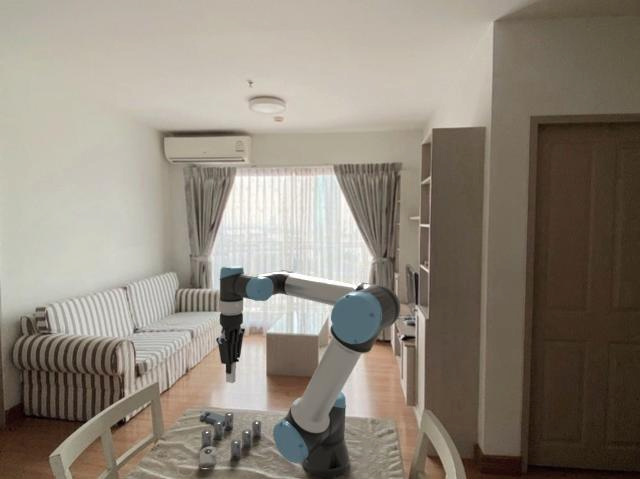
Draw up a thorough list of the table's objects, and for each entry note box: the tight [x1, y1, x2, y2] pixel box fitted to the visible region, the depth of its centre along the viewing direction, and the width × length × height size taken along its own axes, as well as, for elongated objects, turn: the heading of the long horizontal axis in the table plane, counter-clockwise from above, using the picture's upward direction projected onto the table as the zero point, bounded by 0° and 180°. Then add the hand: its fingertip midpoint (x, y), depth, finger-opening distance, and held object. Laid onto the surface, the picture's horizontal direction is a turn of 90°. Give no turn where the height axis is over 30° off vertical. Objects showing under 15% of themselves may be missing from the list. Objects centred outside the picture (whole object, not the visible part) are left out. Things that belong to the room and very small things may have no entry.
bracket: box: [199, 410, 225, 426], centre depth 134 cm, size 4×10×2 cm, turn 67°
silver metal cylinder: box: [199, 445, 217, 469], centre depth 110 cm, size 5×5×4 cm
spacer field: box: [201, 411, 262, 461], centre depth 121 cm, size 15×15×5 cm
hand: (230, 381), depth 118 cm, fingers closed
